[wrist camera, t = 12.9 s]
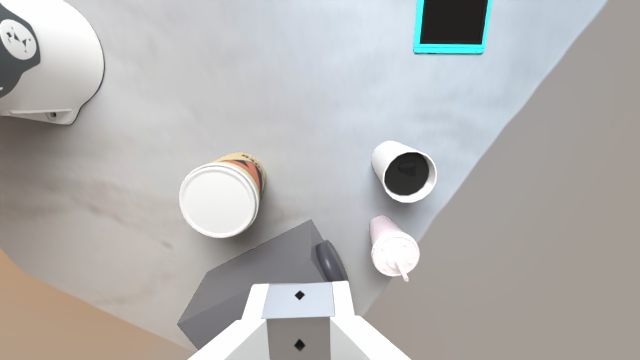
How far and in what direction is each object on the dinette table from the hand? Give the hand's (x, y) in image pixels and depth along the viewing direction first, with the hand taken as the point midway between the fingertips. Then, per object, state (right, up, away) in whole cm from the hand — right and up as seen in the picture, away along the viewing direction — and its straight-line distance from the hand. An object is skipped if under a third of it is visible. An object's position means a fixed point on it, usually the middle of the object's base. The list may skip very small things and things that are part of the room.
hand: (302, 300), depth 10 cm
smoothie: (+11, -4, +40) cm, 42 cm away
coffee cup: (-12, +4, +37) cm, 39 cm away
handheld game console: (+19, +29, +31) cm, 47 cm away
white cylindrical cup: (+11, +7, +37) cm, 39 cm away
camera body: (-7, -11, +42) cm, 44 cm away
